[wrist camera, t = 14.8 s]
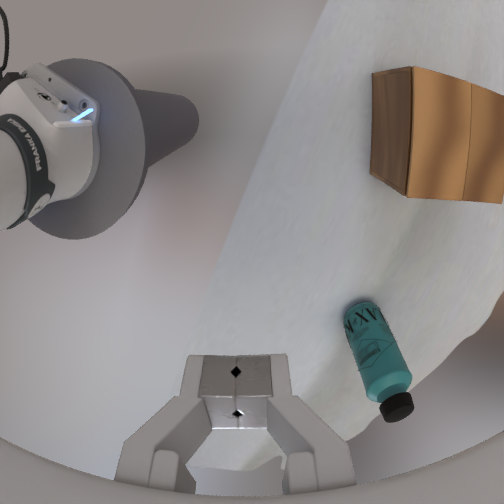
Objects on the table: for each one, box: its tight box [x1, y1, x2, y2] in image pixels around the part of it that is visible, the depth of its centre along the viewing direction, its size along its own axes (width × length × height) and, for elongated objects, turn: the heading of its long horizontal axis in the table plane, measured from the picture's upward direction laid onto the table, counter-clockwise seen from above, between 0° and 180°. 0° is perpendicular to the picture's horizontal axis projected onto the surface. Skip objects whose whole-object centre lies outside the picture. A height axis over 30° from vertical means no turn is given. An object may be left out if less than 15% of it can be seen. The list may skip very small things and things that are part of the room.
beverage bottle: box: [343, 302, 414, 423], centre depth 36 cm, size 6×7×20 cm
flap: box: [406, 66, 471, 201], centre depth 23 cm, size 7×13×1 cm, turn 2°
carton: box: [370, 66, 504, 204], centre depth 27 cm, size 15×13×10 cm
